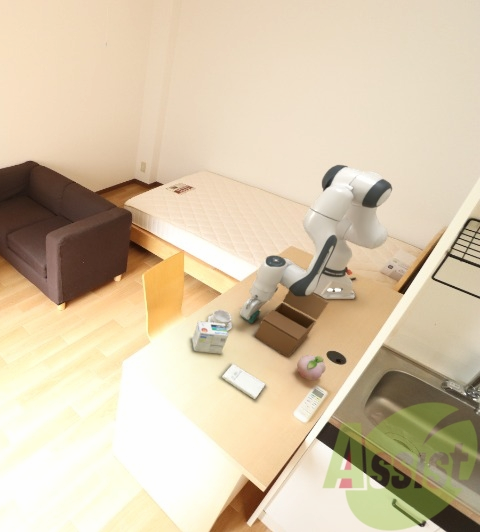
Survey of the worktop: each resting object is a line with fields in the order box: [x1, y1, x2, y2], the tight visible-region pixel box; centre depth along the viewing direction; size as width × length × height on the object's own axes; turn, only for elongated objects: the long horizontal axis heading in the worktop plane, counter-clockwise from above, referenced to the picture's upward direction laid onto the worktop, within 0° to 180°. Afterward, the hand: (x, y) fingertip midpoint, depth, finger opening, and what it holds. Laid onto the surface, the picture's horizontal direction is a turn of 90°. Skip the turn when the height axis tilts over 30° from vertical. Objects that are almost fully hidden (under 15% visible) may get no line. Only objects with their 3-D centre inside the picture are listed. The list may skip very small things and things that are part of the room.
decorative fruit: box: [296, 354, 326, 381], centre depth 129 cm, size 9×8×10 cm
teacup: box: [207, 309, 233, 332], centre depth 151 cm, size 10×10×5 cm
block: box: [241, 309, 261, 324], centre depth 154 cm, size 5×5×5 cm
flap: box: [282, 290, 329, 321], centre depth 144 cm, size 8×14×1 cm
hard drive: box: [221, 363, 266, 400], centre depth 128 cm, size 2×8×12 cm
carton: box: [254, 302, 317, 358], centre depth 144 cm, size 17×14×10 cm
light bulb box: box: [191, 320, 229, 355], centre depth 138 cm, size 11×7×11 cm, turn 84°
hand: (250, 315), depth 155 cm, fingers closed on block, 4 cm apart
